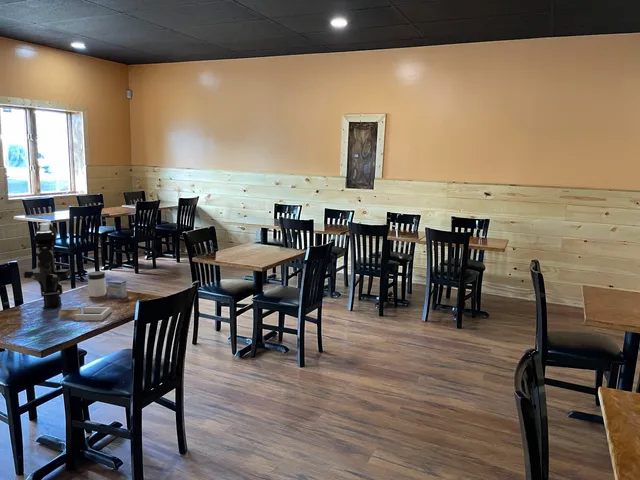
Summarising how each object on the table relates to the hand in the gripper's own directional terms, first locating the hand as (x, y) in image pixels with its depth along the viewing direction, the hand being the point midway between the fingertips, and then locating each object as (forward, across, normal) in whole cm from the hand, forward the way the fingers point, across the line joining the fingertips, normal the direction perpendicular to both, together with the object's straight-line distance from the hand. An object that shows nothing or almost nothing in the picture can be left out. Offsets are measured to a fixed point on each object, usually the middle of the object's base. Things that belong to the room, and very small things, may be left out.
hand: (49, 291), depth 216 cm
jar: (+12, +8, +34) cm, 37 cm away
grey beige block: (+12, +8, 0) cm, 15 cm away
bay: (+12, +19, 0) cm, 22 cm away
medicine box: (+12, +20, +30) cm, 38 cm away
